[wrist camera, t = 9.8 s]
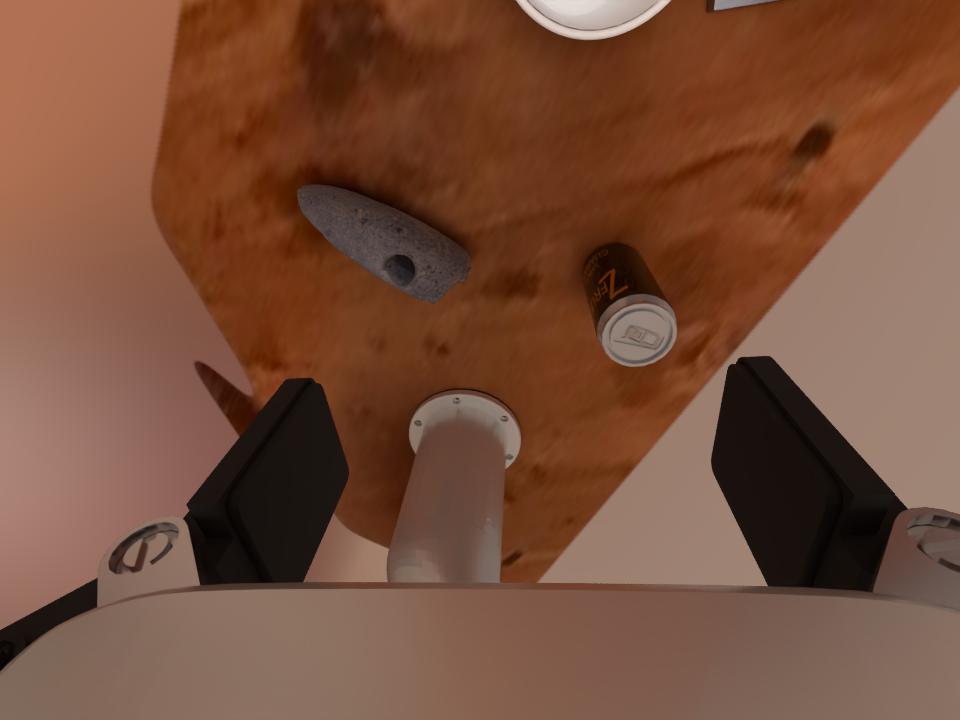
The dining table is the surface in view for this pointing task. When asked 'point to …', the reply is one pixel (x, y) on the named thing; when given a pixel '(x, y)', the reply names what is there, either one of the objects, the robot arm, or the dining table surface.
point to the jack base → (732, 4)
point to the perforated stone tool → (386, 241)
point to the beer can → (628, 307)
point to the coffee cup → (591, 16)
